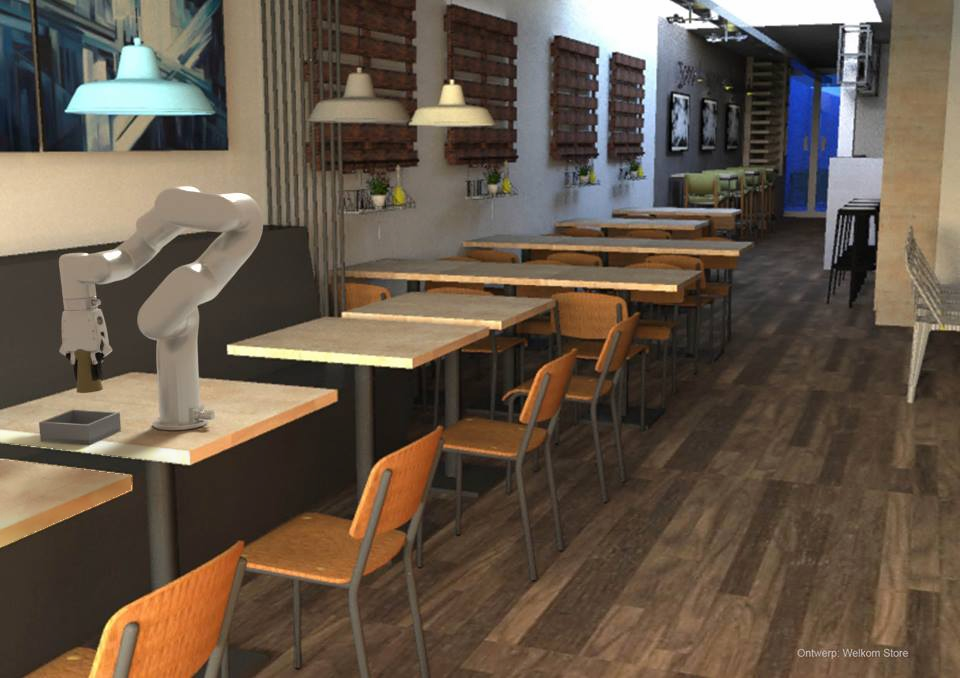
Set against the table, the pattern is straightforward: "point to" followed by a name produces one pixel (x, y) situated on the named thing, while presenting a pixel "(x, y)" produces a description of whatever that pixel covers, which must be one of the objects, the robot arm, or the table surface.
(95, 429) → the box
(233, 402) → the table surface
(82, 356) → the cork
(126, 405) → the table surface
